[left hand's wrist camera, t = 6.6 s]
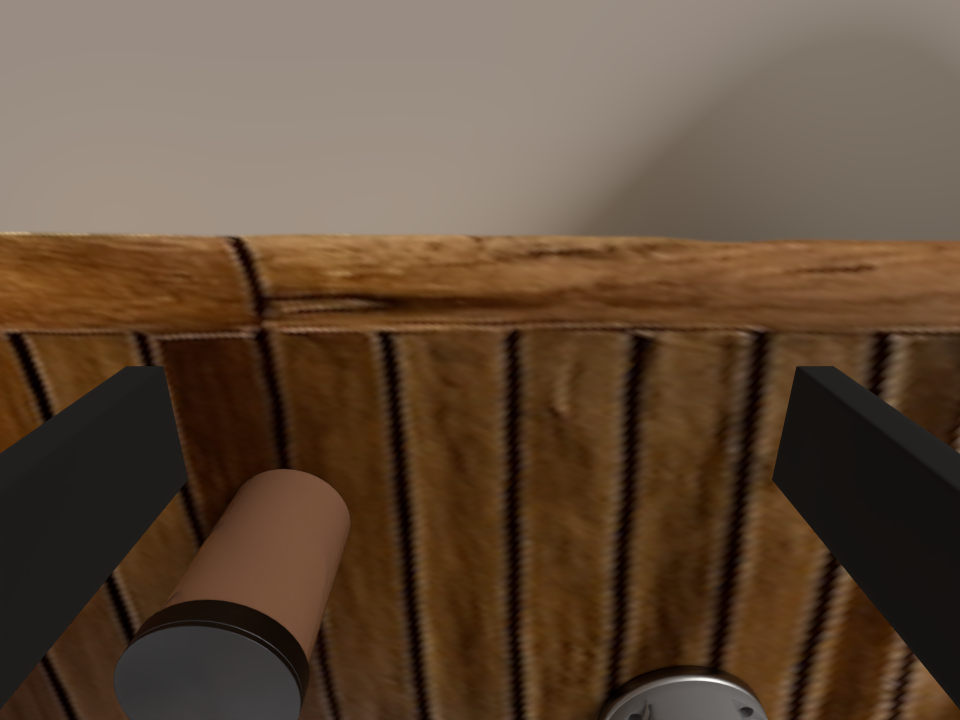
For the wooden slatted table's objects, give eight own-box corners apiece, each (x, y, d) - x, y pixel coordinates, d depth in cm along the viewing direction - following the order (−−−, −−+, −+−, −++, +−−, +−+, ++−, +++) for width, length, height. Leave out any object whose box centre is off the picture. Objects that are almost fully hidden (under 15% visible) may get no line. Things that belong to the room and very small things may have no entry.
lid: (116, 596, 32) (95, 624, 30) (302, 600, 32) (292, 628, 30) (149, 725, 36) (132, 756, 34) (316, 728, 36) (308, 759, 34)
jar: (223, 467, 45) (109, 622, 31) (347, 470, 45) (288, 626, 31) (239, 565, 48) (142, 744, 34) (353, 568, 48) (303, 747, 34)
